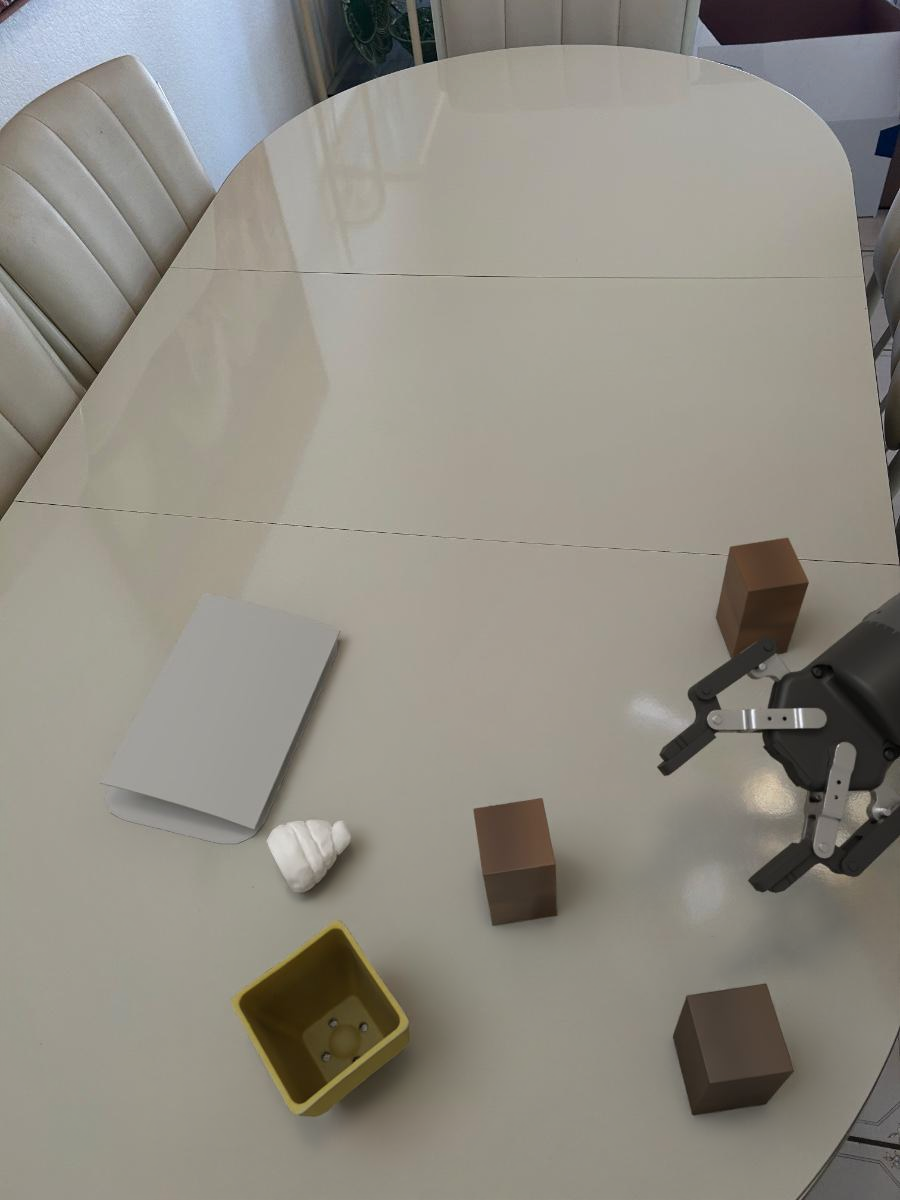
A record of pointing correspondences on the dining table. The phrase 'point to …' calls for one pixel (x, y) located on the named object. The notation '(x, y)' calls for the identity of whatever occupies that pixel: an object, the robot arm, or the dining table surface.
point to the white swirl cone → (307, 850)
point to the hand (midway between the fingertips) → (708, 828)
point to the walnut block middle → (517, 861)
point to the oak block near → (731, 1049)
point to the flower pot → (322, 1021)
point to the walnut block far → (761, 594)
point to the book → (221, 721)
